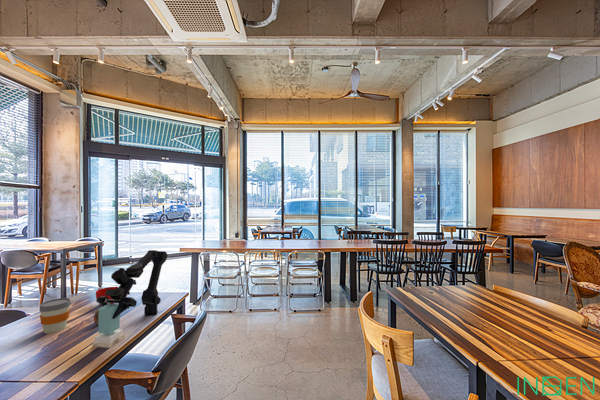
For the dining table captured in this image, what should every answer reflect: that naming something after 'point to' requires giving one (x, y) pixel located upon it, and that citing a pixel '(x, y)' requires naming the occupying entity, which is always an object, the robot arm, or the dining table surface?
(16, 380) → the dining table surface
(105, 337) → the tower top
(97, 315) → the tin
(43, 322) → the reusable coffee cup
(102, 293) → the ceramic cup
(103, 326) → the teal pillar
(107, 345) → the tower base
